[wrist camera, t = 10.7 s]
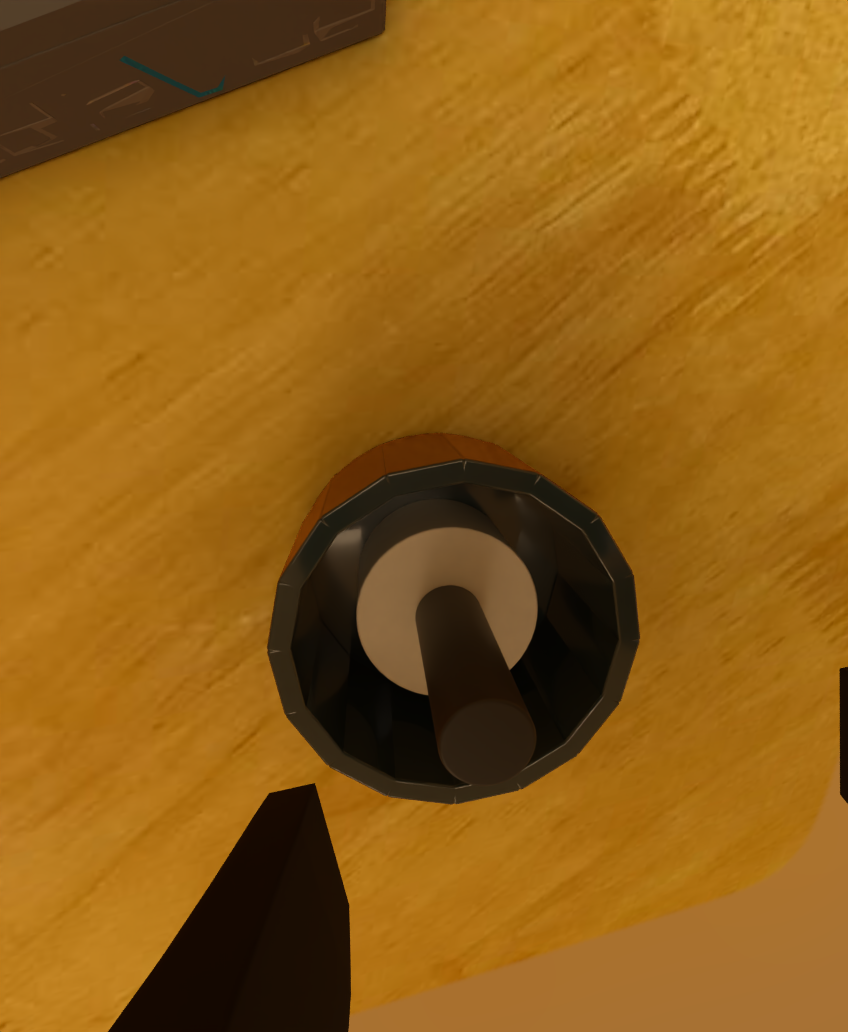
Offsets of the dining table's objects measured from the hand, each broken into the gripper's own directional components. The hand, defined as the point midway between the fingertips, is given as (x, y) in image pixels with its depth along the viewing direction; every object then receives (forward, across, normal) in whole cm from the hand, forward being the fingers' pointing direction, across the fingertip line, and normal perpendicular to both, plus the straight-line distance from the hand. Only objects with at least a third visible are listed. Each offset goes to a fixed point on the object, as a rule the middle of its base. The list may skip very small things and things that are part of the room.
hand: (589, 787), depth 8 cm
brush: (+10, +1, 0) cm, 10 cm away
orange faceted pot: (+10, +1, 0) cm, 10 cm away
